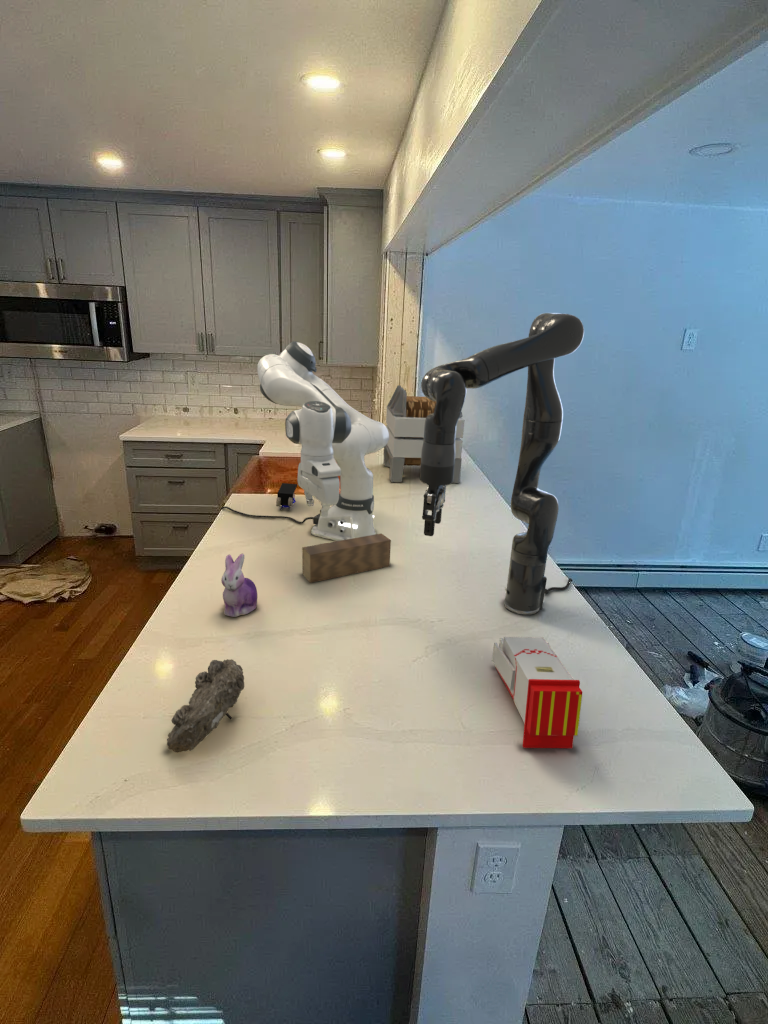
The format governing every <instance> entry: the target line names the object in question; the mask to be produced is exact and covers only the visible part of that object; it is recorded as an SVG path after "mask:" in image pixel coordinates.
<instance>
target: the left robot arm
mask: <svg viewBox="0 0 768 1024" xmlns="http://www.w3.org/2000/svg"><path fill="white" fill-rule="evenodd" d="M316 364H317V361H316V357H315V354H314V353H313V351H312V349H310V347H308V346H307V345H306V344H304V343H303V342H300V341H296V340H293V341H291V342H290V343H288V344H287V345H286V346H285V349H283V351H281V352H280V353H279V355H278V354H276V353H275V354H274V353H269V354H266V355H264V356H262V357H261V358H260V359H259V361H258V362H257V365H256V373H257V378H258V380H259V390H260V393H261V394H262V395H263V397H264V398H265V399H266V400H268V401H269V402H271V403H273V404H275V405H279V406H283V407H284V406H285V407H298V408H299V407H300V409H295V410H292V411H291V412H290V413H288V415H287V416H286V418H285V422H284V423H285V424H284V426H285V428H284V429H285V430H284V431H285V436H286V438H287V439H288V440H289V441H290V442H292V443H293V444H295V445H301V449H300V462H299V463H298V466H297V477H296V478H297V480H296V481H297V486H298V487H300V488H301V489H302V490H303V493H304V497H305V504H306V506H307V507H314V505H315V499H316V500H317V501H319V502H320V506H321V508H320V509H319V513H318V514H316V515H315V516H309V517H308V516H307V517H305V518H304V519H303V520H302V521H298V520H296V519H295V518H294V517H290V516H287V515H286V516H285V515H258V514H249V513H244V512H241V511H239V510H236V509H233V508H231V507H230V506H225V505H224V506H222V507H221V508H220V510H221V511H222V510H224V509H226V510H229V511H230V512H233V513H235V514H239V515H240V516H241V515H242V516H246V517H249V518H264V519H265V518H267V519H287V520H290V521H292V522H294V523H296V524H298V525H303V524H304V523H305V522H307V521H308V520H312V525H313V526H312V528H311V530H310V533H311V536H315V537H319V538H323V539H326V540H330V541H334V542H336V541H341V540H347V539H353V538H358V537H364V536H370V535H375V534H377V532H376V528H375V523H374V518H375V515H374V513H373V512H374V509H375V496H374V473H373V471H372V470H371V469H369V468H368V467H367V466H366V465H367V464H366V462H365V457H366V456H367V455H371V454H374V453H377V452H380V451H381V450H382V449H384V447H385V446H386V445H387V443H388V440H389V433H388V430H387V428H386V426H387V425H385V424H384V423H383V422H381V421H378V420H375V419H372V418H371V417H368V416H366V415H365V414H363V413H362V412H360V411H359V410H357V409H355V408H354V407H352V406H351V405H350V404H348V403H347V402H346V401H345V399H343V398H342V396H340V395H339V394H338V393H337V392H336V391H335V390H334V388H333V387H332V386H330V385H329V384H328V383H327V382H326V381H325V380H324V379H322V378H320V377H319V376H317V375H315V374H314V373H317V371H318V368H317V367H316Z"/></svg>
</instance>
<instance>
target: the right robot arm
mask: <svg viewBox="0 0 768 1024" xmlns="http://www.w3.org/2000/svg"><path fill="white" fill-rule="evenodd" d="M584 336H585V328H584V323H583V322H582V320H581V319H580V318H579V317H578V316H576V315H574V314H570V313H564V312H563V313H562V312H561V313H560V312H543V313H540V314H538V315H537V316H536V317H535V318H534V319H533V321H532V322H531V324H530V327H529V331H528V336H527V337H524V338H521V339H517V340H513V341H509V342H504V343H500V344H497V345H494V346H491V347H488V348H485V349H483V350H481V351H478V352H476V353H474V354H472V355H469V356H468V357H466V358H462V359H459V360H455V361H451V362H447V363H444V364H440V365H437V366H435V367H433V368H431V369H430V370H428V371H427V372H426V373H425V374H424V376H423V377H422V379H421V383H420V390H421V393H422V394H423V395H424V397H427V398H428V399H430V400H432V401H436V406H435V410H434V413H433V414H429V415H428V416H427V417H426V419H425V425H424V439H423V446H422V452H421V466H419V467H420V469H419V480H420V482H421V483H422V484H426V485H427V486H428V487H427V489H425V490H424V491H425V492H424V494H423V505H422V516H421V520H423V521H424V524H423V525H424V526H423V535H424V536H426V537H433V536H434V534H435V528H436V527H435V525H436V524H438V525H439V524H441V522H442V513H443V508H444V504H445V502H446V488H447V486H449V485H451V484H453V483H452V482H453V475H454V464H455V439H456V426H457V422H458V419H459V417H460V414H461V412H463V411H462V410H463V408H464V404H465V401H466V397H467V389H471V390H473V389H479V388H482V387H484V386H486V385H489V384H490V383H493V382H495V381H497V380H499V379H502V378H503V377H506V376H508V375H510V374H512V373H515V372H517V371H521V370H522V369H525V368H527V381H526V393H525V404H524V410H523V419H522V429H521V439H520V440H521V441H520V447H519V456H518V463H517V468H516V470H517V471H516V475H515V479H514V483H513V488H512V492H511V498H510V512H511V513H512V516H514V518H516V519H517V520H518V521H521V522H522V523H525V524H528V525H527V530H526V532H519V533H516V534H515V535H514V536H513V538H512V543H511V551H510V556H509V557H510V559H509V566H508V573H507V580H506V581H507V582H506V586H505V587H504V588H505V589H504V590H505V595H504V602H503V605H504V608H506V609H507V610H508V611H510V612H512V613H514V614H517V615H522V616H531V615H535V614H537V613H539V612H540V611H542V610H543V605H544V600H545V595H546V594H548V593H550V592H551V591H564V590H566V589H568V588H569V587H570V584H571V583H572V582H573V579H572V578H571V577H569V578H568V579H567V583H566V585H565V586H561V587H559V586H551V587H549V588H548V589H547V581H548V577H547V576H545V574H546V566H547V559H548V554H549V553H548V552H549V547H550V545H551V543H552V541H553V539H554V534H555V530H556V526H557V521H558V515H559V500H558V498H557V497H556V496H555V495H554V494H553V493H550V492H547V491H545V490H542V489H540V488H539V481H540V475H541V470H542V468H543V465H544V464H545V462H546V461H547V460H548V458H549V457H550V455H552V453H553V452H554V450H555V449H556V447H557V446H558V444H559V442H560V439H561V435H562V427H563V420H564V409H563V404H562V400H561V396H560V393H559V391H558V388H557V384H556V381H555V360H556V359H557V358H561V357H566V356H568V355H571V354H573V353H574V352H576V350H578V348H579V347H581V344H582V343H583V341H584ZM429 512H431V514H429ZM569 582H570V583H569Z"/></svg>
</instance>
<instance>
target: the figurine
mask: <svg viewBox="0 0 768 1024" xmlns="http://www.w3.org/2000/svg"><path fill="white" fill-rule="evenodd" d="M244 563H245V554H244V553H240V554H239V555H238V556H237V558H236V559H235V560H234V558H233V557H232V555H231V554H227V555H226V556H225V560H224V564H225V565H224V566H225V567H224V568H225V570H224V572H223V574H222V576H221V579H220V580H221V584H222V586H223V587H224V589H223V591H222V599H223V603H224V611H223V613H224V615H225V616H228V617H234V618H236V617H239V616H245V615H248V614H249V613H251V612H253V611H254V610H256V609H257V606H258V590H257V589H258V588H257V586H256V584H255V583H254V581H253V580H252V579H250V578H248V577H245V575H244V573H243V571H242V569H243V566H244Z"/></svg>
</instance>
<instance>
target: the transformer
mask: <svg viewBox="0 0 768 1024" xmlns="http://www.w3.org/2000/svg"><path fill="white" fill-rule="evenodd" d="M407 394H408V393H407V390H406V389H404V388H403V387H402V385H399V384H398V385H397V386H396V388H395V390H394V392H393V394H392V395H391V398H390V400H389V402H388V404H387V405H386V413H385V414H386V415H385V423H386V425H385V426H386V428H387V430H388V433H389V440H388V443H387V445H386V446H385V447H384V448H383V466H384V467H388V468H389V475H388V476H389V477H388V478H389V480H390V482H391V483H402V482H403V475H404V469H405V466H406V467H407V466H411V467H412V466H413V467H415V466H416V467H417V466H418V467H420V466H421V452H422V446H423V439H424V425H425V419H426V417H427V416H428V415H429V414H433V413H434V410H435V406H436V401H432V400H430V399H428V398H427V397H426V396H415V395H414V396H413V395H412V396H411V395H407ZM464 429H465V419H464V418H463V411H461V414H460V417H459V419H458V422H457V426H456V439H455V464H454V475H453V482H452V483H451V484H455V483H456V484H459V483H461V472H462V461H463V460H462V453H463V442H464V441H463V440H462V439H463V438H464V431H465V430H464Z"/></svg>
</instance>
